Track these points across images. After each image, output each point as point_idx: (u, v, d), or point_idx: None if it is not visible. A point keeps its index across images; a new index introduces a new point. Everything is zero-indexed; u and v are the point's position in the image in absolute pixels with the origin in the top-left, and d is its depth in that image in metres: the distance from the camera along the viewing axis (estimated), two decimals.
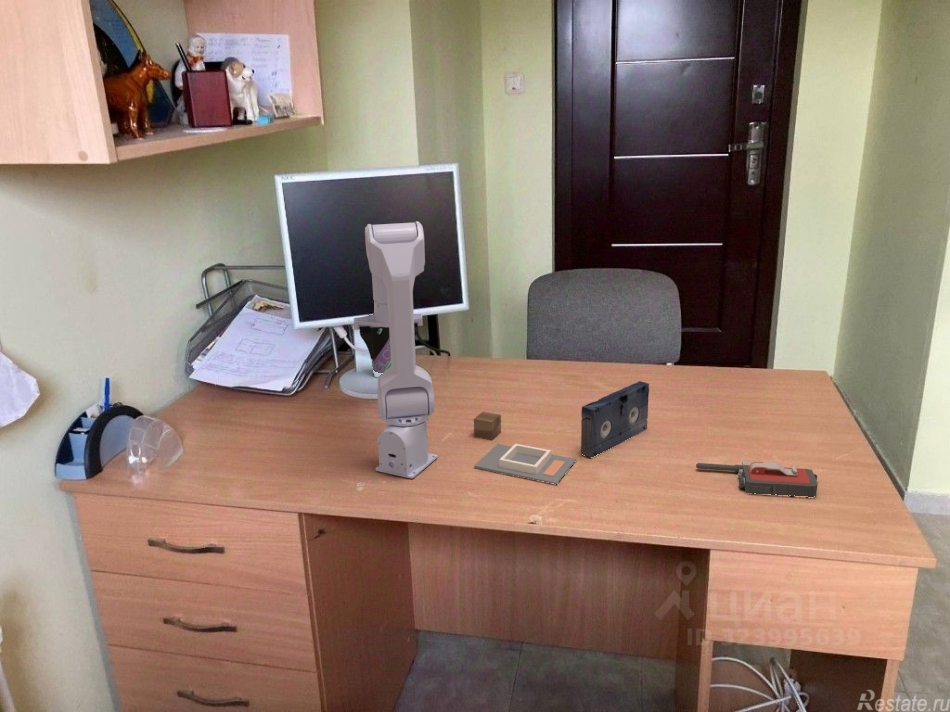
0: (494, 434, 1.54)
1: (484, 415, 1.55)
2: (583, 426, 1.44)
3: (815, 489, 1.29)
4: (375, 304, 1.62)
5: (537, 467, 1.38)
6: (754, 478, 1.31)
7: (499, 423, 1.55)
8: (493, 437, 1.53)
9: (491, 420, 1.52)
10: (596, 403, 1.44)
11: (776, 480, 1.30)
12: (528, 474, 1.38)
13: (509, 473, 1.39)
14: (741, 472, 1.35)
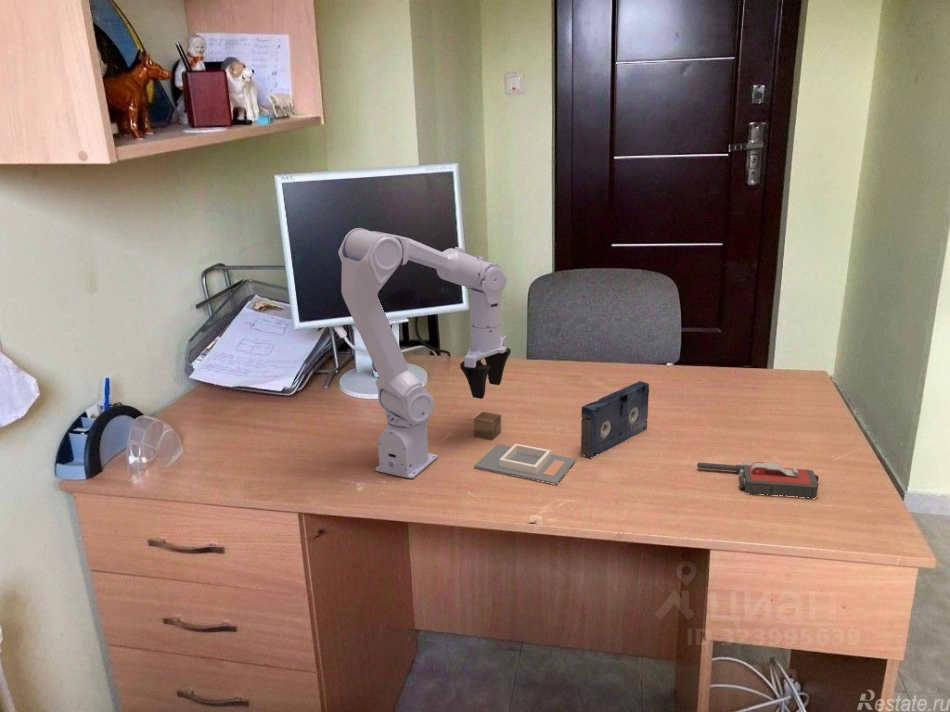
0: (494, 434, 1.54)
1: (484, 415, 1.55)
2: (583, 426, 1.44)
3: (815, 490, 1.28)
4: None
5: (537, 467, 1.38)
6: (754, 478, 1.31)
7: (499, 423, 1.55)
8: (493, 437, 1.53)
9: (491, 420, 1.52)
10: (596, 403, 1.44)
11: (776, 480, 1.30)
12: (528, 474, 1.38)
13: (509, 473, 1.39)
14: (742, 472, 1.35)
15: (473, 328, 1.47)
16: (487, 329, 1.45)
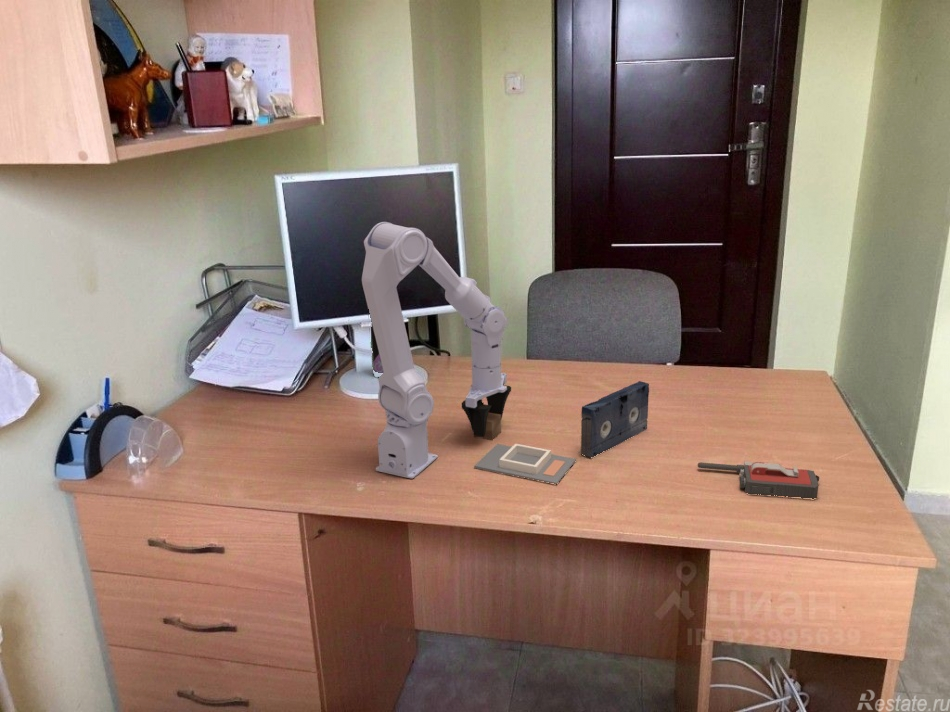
0: (494, 434, 1.53)
1: None
2: (583, 426, 1.44)
3: (816, 490, 1.28)
4: None
5: (537, 467, 1.38)
6: (754, 478, 1.30)
7: (499, 423, 1.55)
8: (493, 437, 1.53)
9: (491, 420, 1.52)
10: (596, 403, 1.44)
11: (777, 481, 1.30)
12: (528, 474, 1.38)
13: (509, 473, 1.39)
14: (742, 472, 1.34)
15: (474, 368, 1.49)
16: (488, 369, 1.48)
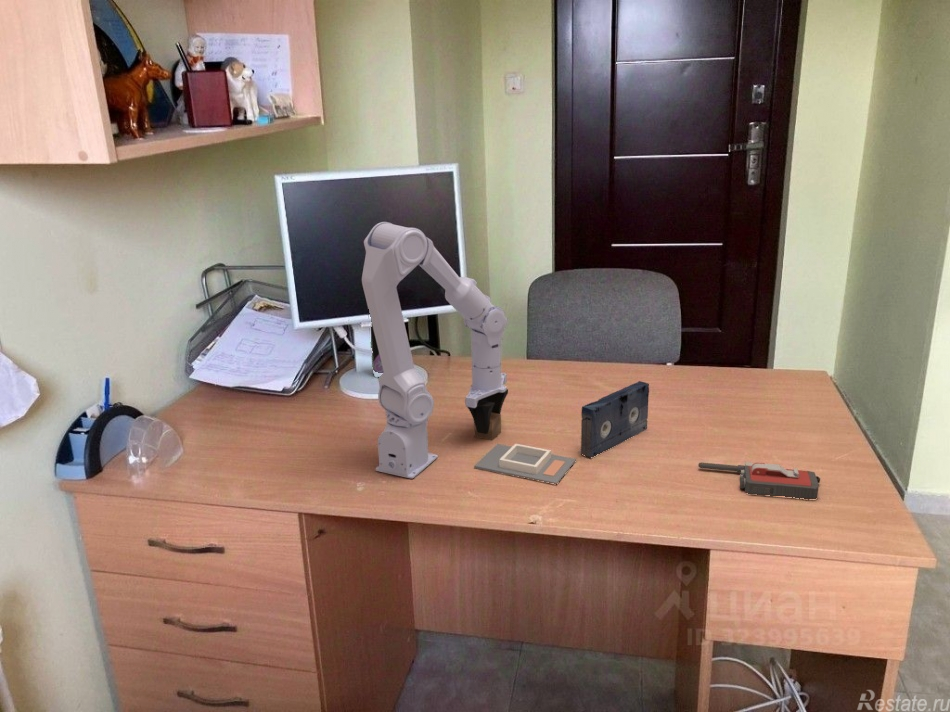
0: (494, 433, 1.53)
1: None
2: (583, 426, 1.44)
3: (816, 492, 1.28)
4: None
5: (537, 467, 1.38)
6: (754, 479, 1.30)
7: (499, 422, 1.55)
8: (493, 436, 1.53)
9: (491, 419, 1.52)
10: (596, 403, 1.44)
11: (777, 481, 1.30)
12: (528, 474, 1.38)
13: (509, 473, 1.39)
14: (743, 472, 1.34)
15: (474, 368, 1.49)
16: (488, 369, 1.48)
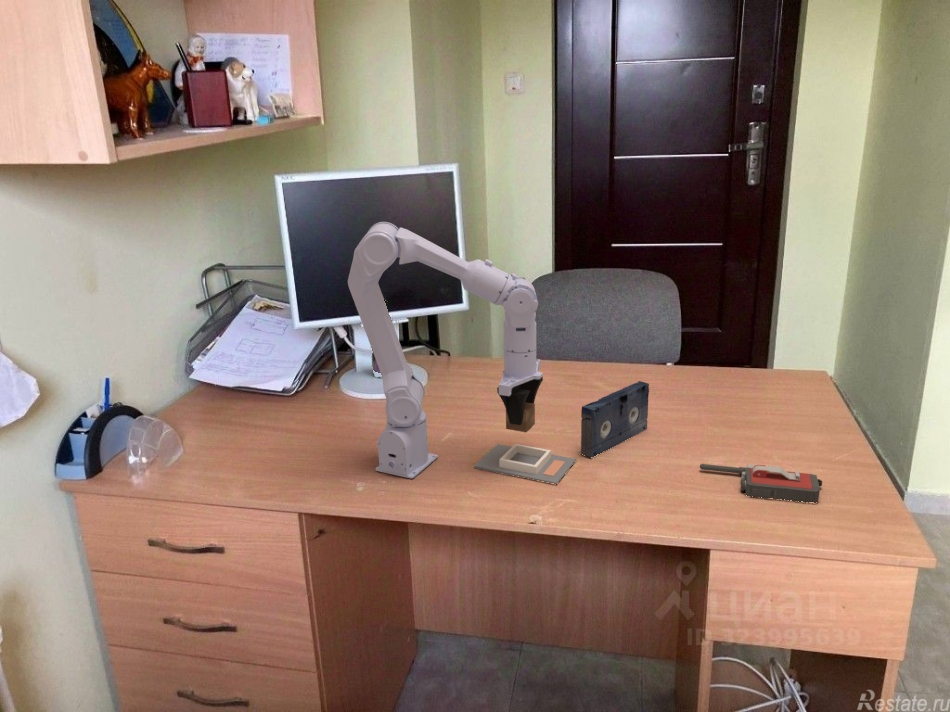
0: (528, 425, 1.40)
1: None
2: (583, 426, 1.44)
3: (817, 495, 1.27)
4: None
5: (537, 467, 1.38)
6: (755, 481, 1.30)
7: (533, 413, 1.42)
8: (527, 428, 1.40)
9: (525, 410, 1.39)
10: (596, 403, 1.44)
11: (777, 484, 1.29)
12: (528, 474, 1.38)
13: (509, 473, 1.39)
14: (744, 474, 1.34)
15: (507, 353, 1.36)
16: (523, 354, 1.35)
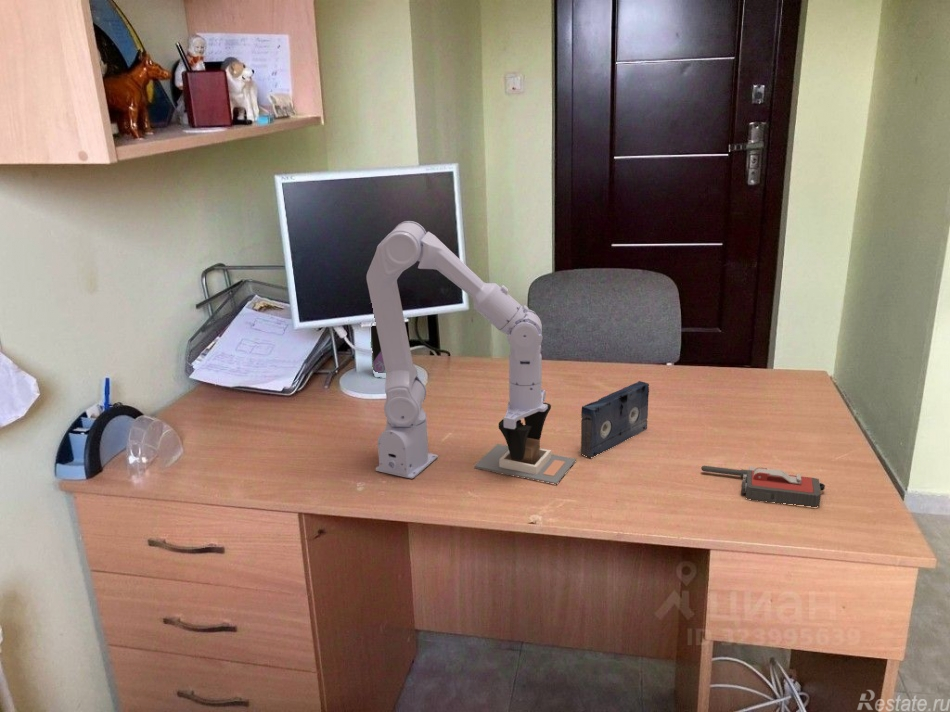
0: (533, 461, 1.41)
1: None
2: (583, 426, 1.44)
3: (818, 499, 1.26)
4: None
5: (537, 467, 1.38)
6: (755, 484, 1.29)
7: (538, 449, 1.42)
8: None
9: (530, 446, 1.40)
10: (596, 403, 1.44)
11: (778, 487, 1.28)
12: (528, 474, 1.38)
13: (509, 473, 1.39)
14: (745, 477, 1.33)
15: (512, 385, 1.36)
16: (528, 387, 1.35)
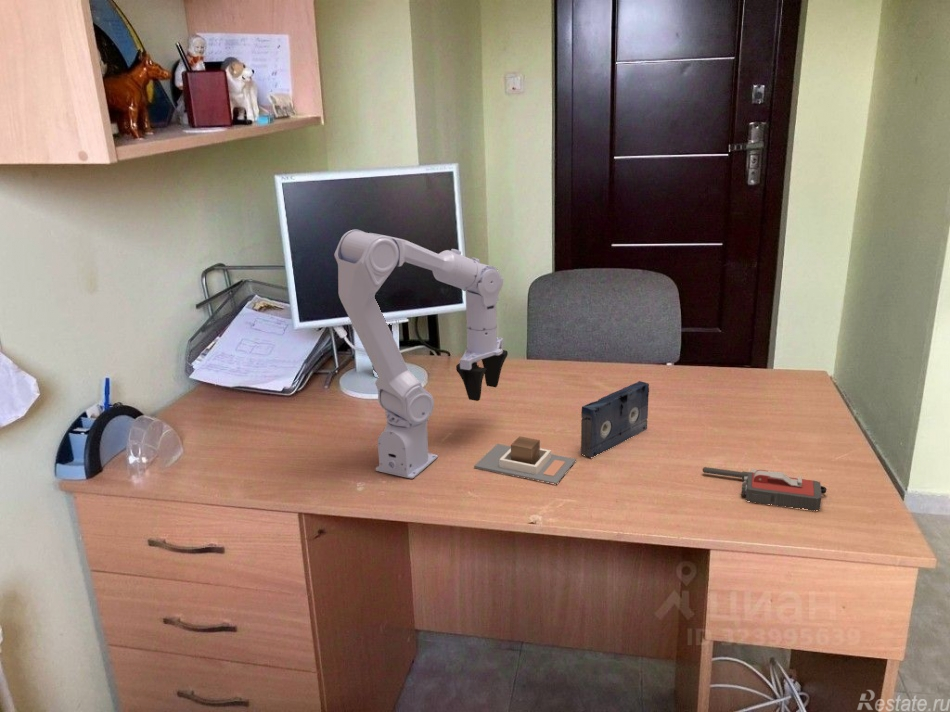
0: (533, 461, 1.41)
1: (522, 441, 1.42)
2: (583, 426, 1.44)
3: (818, 502, 1.25)
4: None
5: (537, 467, 1.38)
6: (755, 486, 1.28)
7: (538, 449, 1.42)
8: None
9: (530, 446, 1.40)
10: (596, 403, 1.44)
11: (778, 490, 1.27)
12: (528, 474, 1.38)
13: (509, 473, 1.39)
14: (746, 479, 1.32)
15: (469, 330, 1.46)
16: (483, 331, 1.45)
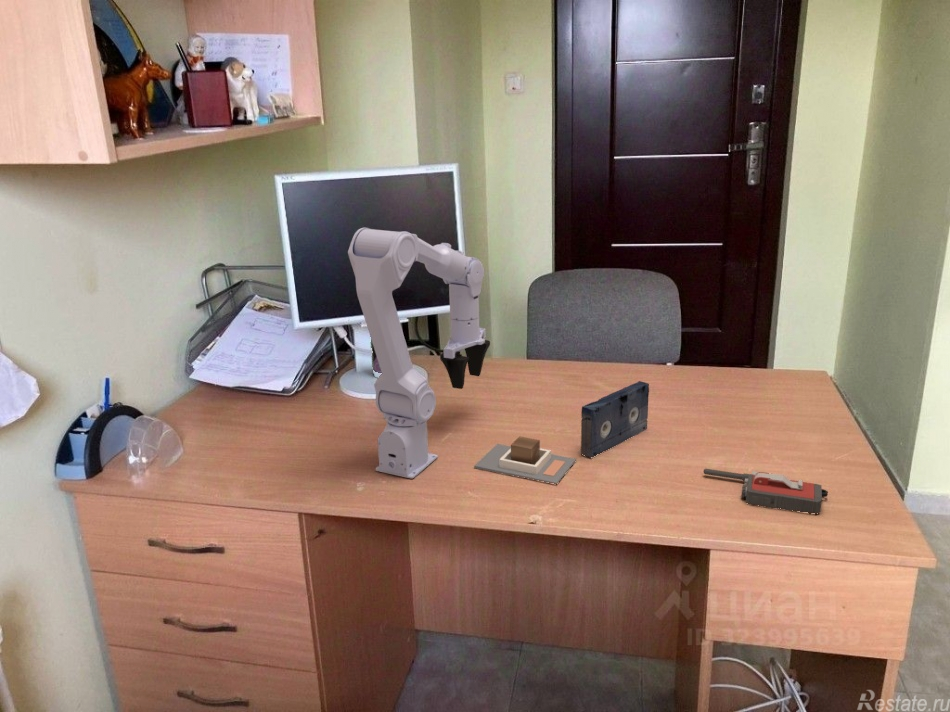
0: (533, 461, 1.41)
1: (522, 441, 1.42)
2: (583, 426, 1.44)
3: (818, 505, 1.24)
4: None
5: (537, 467, 1.38)
6: (755, 488, 1.27)
7: (538, 449, 1.42)
8: None
9: (530, 446, 1.40)
10: (596, 403, 1.44)
11: (778, 492, 1.26)
12: (528, 474, 1.38)
13: (509, 473, 1.39)
14: (746, 481, 1.31)
15: (452, 320, 1.52)
16: (466, 321, 1.50)
